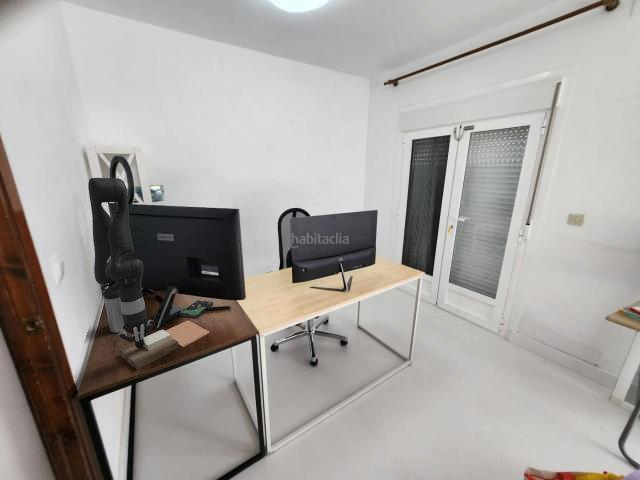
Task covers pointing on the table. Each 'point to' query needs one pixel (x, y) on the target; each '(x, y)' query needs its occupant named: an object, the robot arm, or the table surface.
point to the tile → (156, 339)
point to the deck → (146, 353)
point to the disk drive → (196, 309)
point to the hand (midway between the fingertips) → (140, 347)
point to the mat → (187, 333)
